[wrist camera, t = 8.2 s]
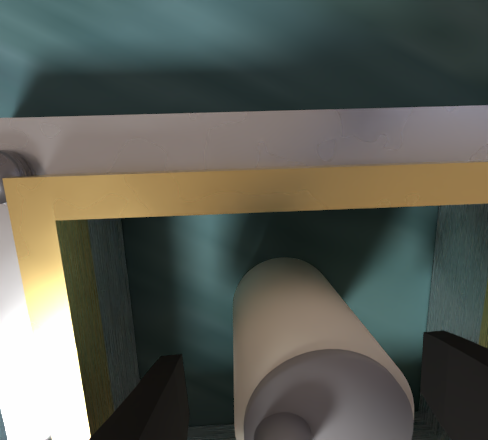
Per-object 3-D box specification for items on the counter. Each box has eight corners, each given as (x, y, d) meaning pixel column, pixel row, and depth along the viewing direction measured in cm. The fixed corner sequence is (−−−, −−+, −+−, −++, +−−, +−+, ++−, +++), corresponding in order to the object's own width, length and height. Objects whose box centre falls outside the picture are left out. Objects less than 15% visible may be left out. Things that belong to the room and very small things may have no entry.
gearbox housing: (514, 115, 11) (675, 90, 7) (466, 454, 14) (559, 570, 10) (5, 129, 10) (-135, 110, 6) (71, 482, 13) (4, 619, 9)
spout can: (334, 255, 12) (471, 380, 5) (329, 347, 12) (444, 563, 6) (231, 258, 12) (232, 392, 5) (233, 351, 12) (237, 578, 6)
